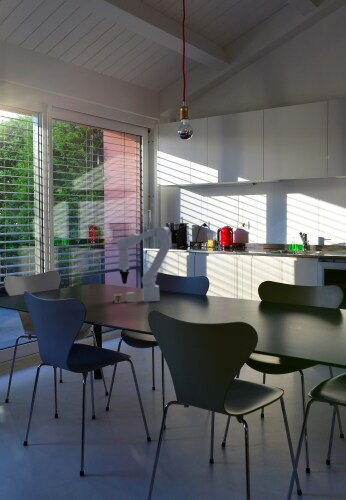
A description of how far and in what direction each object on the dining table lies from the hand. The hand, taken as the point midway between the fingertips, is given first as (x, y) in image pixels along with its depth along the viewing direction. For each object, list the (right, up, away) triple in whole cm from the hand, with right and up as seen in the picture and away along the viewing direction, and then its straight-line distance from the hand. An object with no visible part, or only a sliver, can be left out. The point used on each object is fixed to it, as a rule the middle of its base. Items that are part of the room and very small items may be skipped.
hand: (124, 282), depth 304 cm
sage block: (+4, -10, -6) cm, 13 cm away
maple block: (-3, -9, -10) cm, 13 cm away
